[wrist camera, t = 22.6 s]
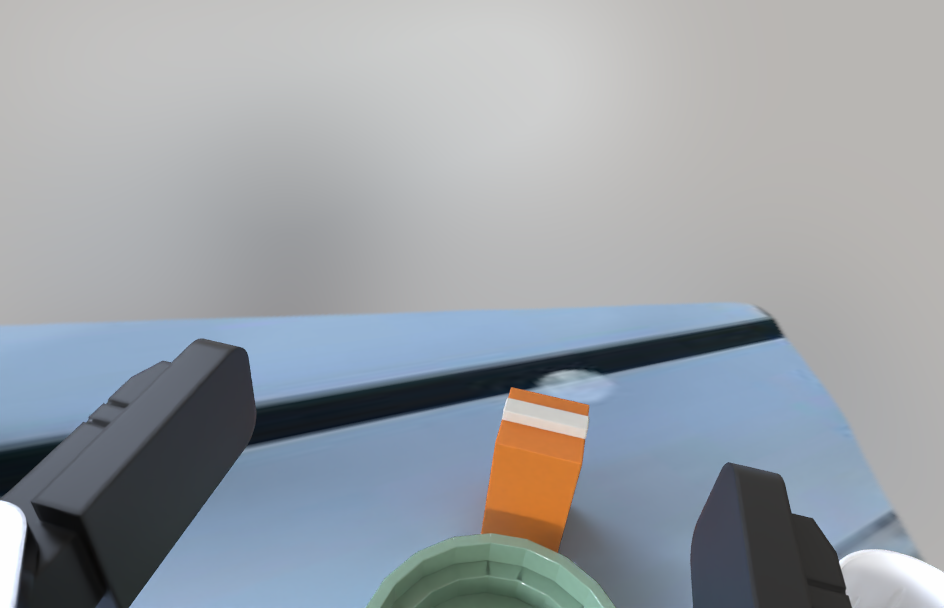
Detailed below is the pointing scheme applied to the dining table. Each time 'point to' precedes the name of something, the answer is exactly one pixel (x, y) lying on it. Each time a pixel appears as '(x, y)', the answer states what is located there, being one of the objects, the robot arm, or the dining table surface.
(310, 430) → the dining table surface
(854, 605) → the white cup
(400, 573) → the bowl
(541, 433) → the carton
